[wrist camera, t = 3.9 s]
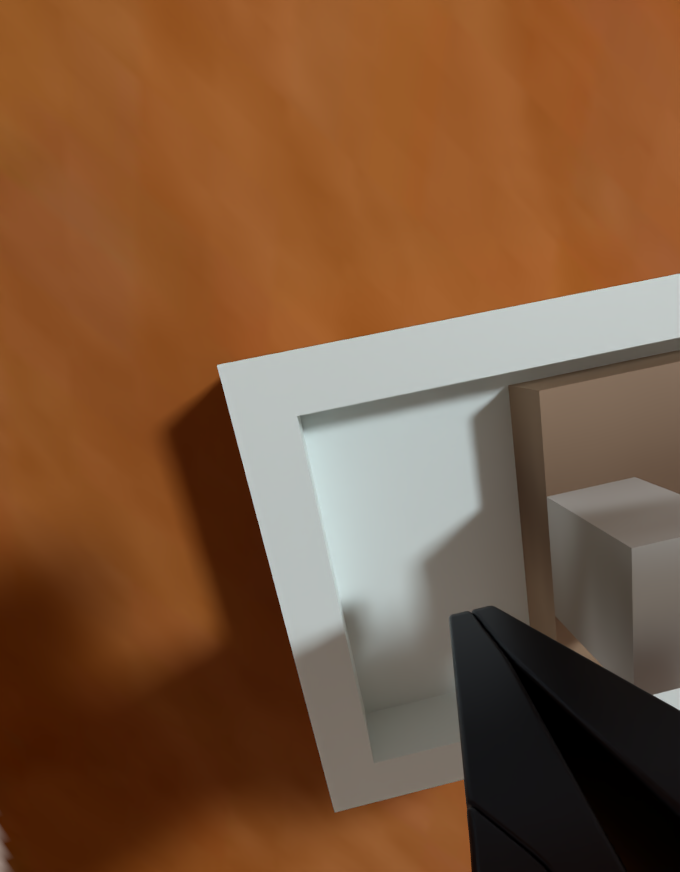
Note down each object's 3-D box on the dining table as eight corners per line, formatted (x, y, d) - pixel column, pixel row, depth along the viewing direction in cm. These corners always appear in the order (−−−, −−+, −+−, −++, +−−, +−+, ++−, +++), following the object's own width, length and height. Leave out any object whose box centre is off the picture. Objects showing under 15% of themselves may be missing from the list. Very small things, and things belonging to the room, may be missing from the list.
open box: (822, 588, 13) (960, 651, 10) (327, 709, 12) (334, 812, 10) (863, 237, 10) (1059, 198, 8) (240, 360, 10) (217, 365, 7)
